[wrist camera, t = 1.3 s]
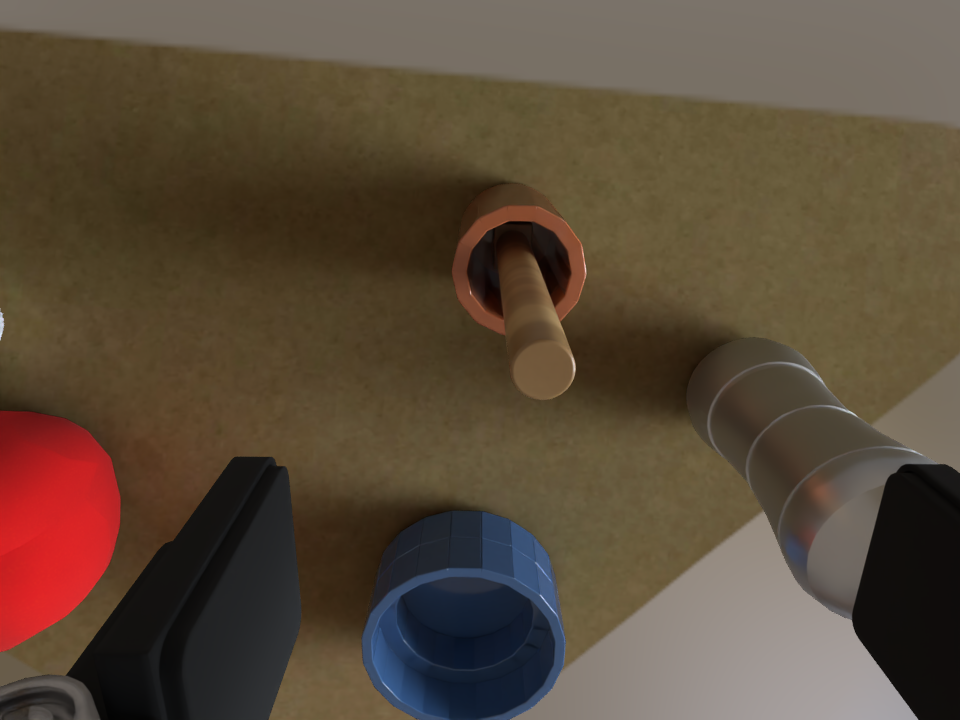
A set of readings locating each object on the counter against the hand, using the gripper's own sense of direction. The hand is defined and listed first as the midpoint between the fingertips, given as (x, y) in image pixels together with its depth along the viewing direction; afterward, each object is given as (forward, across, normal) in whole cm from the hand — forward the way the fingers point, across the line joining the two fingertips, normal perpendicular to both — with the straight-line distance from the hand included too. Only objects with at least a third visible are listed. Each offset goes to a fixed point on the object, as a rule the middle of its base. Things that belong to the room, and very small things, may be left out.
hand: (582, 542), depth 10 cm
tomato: (+26, +27, +14) cm, 40 cm away
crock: (+26, 0, -1) cm, 26 cm away
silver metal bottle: (+26, -13, +8) cm, 30 cm away
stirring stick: (+25, 0, -1) cm, 25 cm away
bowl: (+26, +2, +21) cm, 34 cm away
